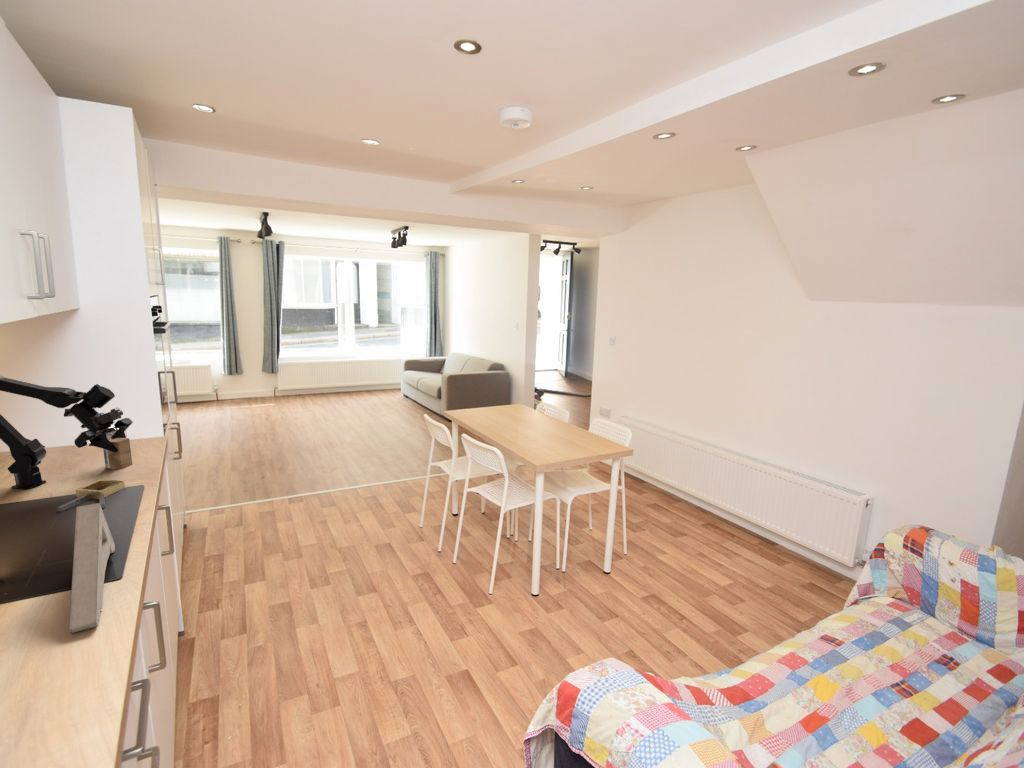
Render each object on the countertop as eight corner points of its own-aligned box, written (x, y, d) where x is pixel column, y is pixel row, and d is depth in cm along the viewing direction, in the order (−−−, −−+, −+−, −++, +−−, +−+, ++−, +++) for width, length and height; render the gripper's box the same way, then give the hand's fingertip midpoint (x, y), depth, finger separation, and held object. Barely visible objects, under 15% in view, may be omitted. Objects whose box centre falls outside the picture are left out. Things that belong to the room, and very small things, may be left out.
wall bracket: (90, 663, 118) (94, 549, 134) (114, 656, 120) (115, 545, 137) (69, 630, 104) (76, 506, 120) (96, 622, 106) (99, 502, 122)
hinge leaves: (46, 510, 156) (45, 503, 155) (101, 485, 174) (100, 479, 174) (91, 514, 155) (90, 506, 154) (141, 488, 173) (140, 482, 173)
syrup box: (114, 463, 194) (109, 427, 191) (131, 462, 195) (126, 427, 192) (105, 468, 189) (100, 432, 186) (122, 468, 190) (117, 432, 187)
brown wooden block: (109, 468, 175) (106, 441, 173) (120, 463, 179) (117, 437, 177) (121, 469, 175) (118, 442, 173) (132, 464, 179) (129, 438, 177)
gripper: (77, 409, 163) (113, 443, 165) (124, 396, 182) (156, 427, 183) (58, 430, 166) (94, 464, 167) (107, 415, 184) (139, 446, 185)
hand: (122, 449), depth 176 cm, fingers closed on brown wooden block, 4 cm apart
